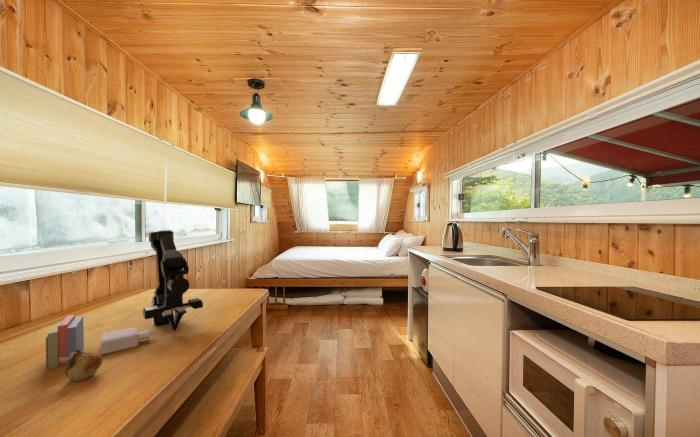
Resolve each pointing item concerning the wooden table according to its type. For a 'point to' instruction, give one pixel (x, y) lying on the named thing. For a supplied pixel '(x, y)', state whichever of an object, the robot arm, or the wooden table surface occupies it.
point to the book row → (64, 340)
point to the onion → (81, 365)
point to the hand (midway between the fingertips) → (174, 330)
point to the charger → (122, 339)
